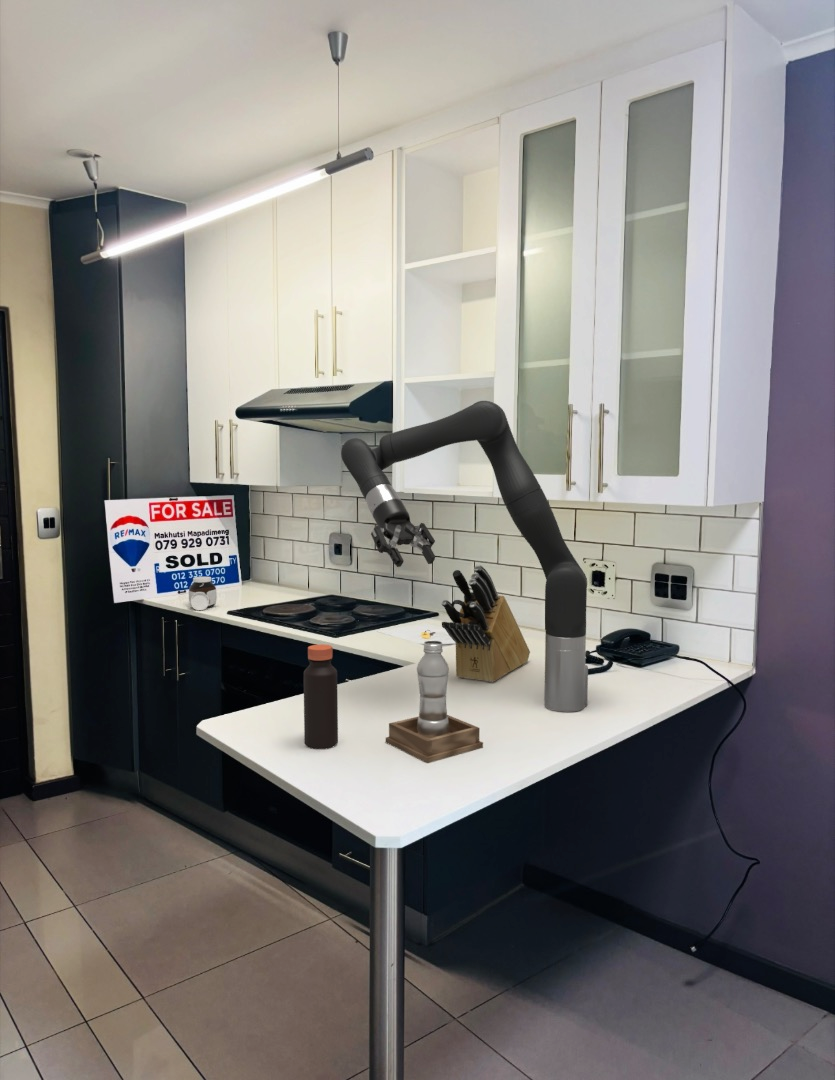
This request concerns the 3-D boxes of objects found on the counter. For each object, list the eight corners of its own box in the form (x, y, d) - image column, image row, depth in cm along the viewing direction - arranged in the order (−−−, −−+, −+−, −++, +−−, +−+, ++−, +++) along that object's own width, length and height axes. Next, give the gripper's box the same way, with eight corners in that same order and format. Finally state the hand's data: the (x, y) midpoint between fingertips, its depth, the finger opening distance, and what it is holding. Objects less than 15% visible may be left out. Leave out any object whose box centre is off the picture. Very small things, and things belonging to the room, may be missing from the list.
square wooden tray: (439, 728, 172) (439, 710, 172) (482, 747, 161) (483, 728, 161) (385, 742, 164) (385, 723, 164) (427, 763, 153) (427, 742, 153)
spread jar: (210, 604, 320) (209, 575, 319) (223, 608, 312) (223, 578, 310) (181, 608, 313) (180, 578, 311) (194, 612, 304) (193, 581, 303)
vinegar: (321, 735, 168) (320, 641, 166) (345, 743, 164) (344, 646, 162) (297, 744, 163) (295, 647, 161) (320, 752, 158) (319, 652, 156)
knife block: (437, 687, 204) (437, 566, 201) (494, 657, 235) (495, 551, 231) (477, 693, 199) (478, 569, 195) (530, 662, 229) (532, 554, 226)
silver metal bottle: (430, 748, 158) (430, 648, 156) (410, 738, 163) (410, 641, 161) (456, 741, 162) (456, 643, 160) (435, 732, 167) (435, 637, 165)
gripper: (367, 498, 179) (397, 554, 171) (418, 496, 187) (449, 550, 179) (354, 520, 183) (383, 576, 175) (405, 518, 192) (434, 571, 184)
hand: (416, 563), depth 177 cm, fingers open, 8 cm apart
